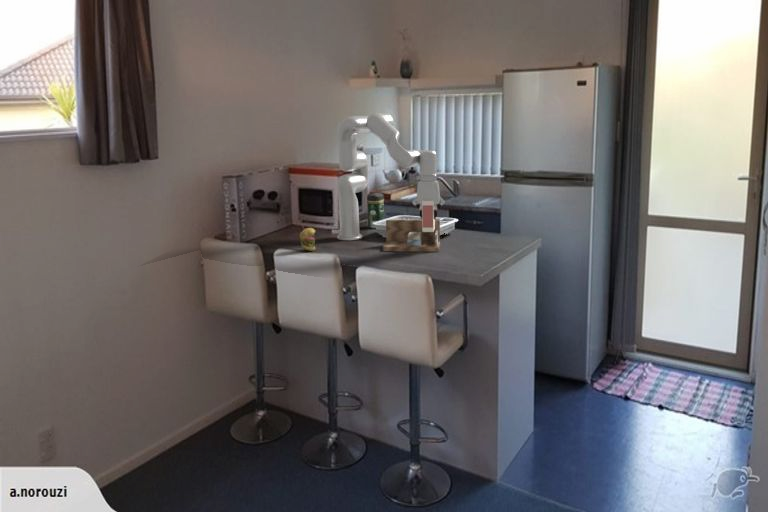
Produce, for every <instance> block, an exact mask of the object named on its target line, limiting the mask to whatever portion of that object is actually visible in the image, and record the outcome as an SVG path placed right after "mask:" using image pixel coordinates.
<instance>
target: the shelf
mask: <svg viewBox="0 0 768 512" xmlns="http://www.w3.org/2000/svg"><path fill="white" fill-rule="evenodd" d="M385 238H386V240H385V243H384V244H383V246H382V251H383V252H421V253H422V252H425V253H426V252H427V253H430V252H431V253H432V252H433V253H434V252H439V249H440V246H441V235H440V220H435V229H434V232H422V220H386V237H385Z"/></svg>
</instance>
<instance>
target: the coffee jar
mask: <svg viewBox="0 0 768 512" xmlns="http://www.w3.org/2000/svg"><path fill="white" fill-rule="evenodd" d="M366 197H367V199H366V202H367V227H368V228H369V229H371V230H372V229H373V230H376V225H373V224H372V223H373V222H376V221H380V220H383V219H385V211H384V210H385V208H384V207H385V206H384V205H385V204H384V201H385V197H384V194H383V193H382V192H373V193H371V194H368V195H367V196H366Z"/></svg>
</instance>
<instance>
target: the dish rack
mask: <svg viewBox="0 0 768 512" xmlns="http://www.w3.org/2000/svg"><path fill="white" fill-rule="evenodd" d="M386 220H422V219H421V217H420V215H394V216H391V217H388V218H384V219H383V220H380V221H376V222H373V223H372V224H373V225H376V228H375V232H376V233H377V234H378V235H381V236H382V238H386ZM435 220H440V236H441V235H445V236H447V235H449V233H450V232H452V231H453V230H455V224H456V223H457V222H458V221H459V219H458V218H453V217H438V216H437V217H436V219H435ZM444 233H445V234H444ZM446 234H447V235H446Z"/></svg>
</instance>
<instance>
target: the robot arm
mask: <svg viewBox="0 0 768 512" xmlns="http://www.w3.org/2000/svg"><path fill="white" fill-rule="evenodd" d="M394 123H395V122H394V119H393V117H392V115H391V114H389V113H388V112H387V113H386V112H377V113H372V114H370V115H369V114H368V115H352V116H347V117H345V118H343V119H342V120H341V121H340V122H339V124H338V125H337V126H338V127H337V137H338V166H339V169H340V170H341V171H343V172H348V173H347V174H342V175H341V176H339V178H337V180H336V184H335V186H336V192H337V195H338V196H337V197H338V209H339V211H338V213H339V229H331V234H332V235H337V236H336V238H337V240H340V241H356V240H357V241H359V240H362V239H363V238H364V237H363V234H361V233H360V217H359V215H360V213H359V212H360V211H359V201H358V197H357V195H356V193H361V192H364V191H365V190H366V189H367V188H368V183H369V161H368V157H367V155H366V154H365V152H363V151H361V150H357V140H356V137H355V135H365V134H373V135H375V136H376V138H378V139H379V140H380V141H381V142H382V143H383V144H384V145H385V147H386V150H387V152H388V154H389V156H390V157H391V158H392V159H393V161H395V163H397V164H398V165H399V166H401V167H402V168H404V169H406V168H407V169H408V168H414V167H419V175H417V176H416V180H419V181H417V186H416V187H417V188H416V197H415V198H414V200H413V201H412V202H411V203H412V205H413V206H415V207H416V209H418V210H419V216H420V217H421V219H422V200H434V208H435V209H434V219H436V217H437V218H438V210H439V209H440V208H441V207H442V206H443V205H445V203H446V201H445V200H444V199H443V198H442V196H441V195H440V191H441V190H440V185H439V181H438V180H437V177H438V176H437V175H438V174H437V152H436V151H435V150H431V149H430V150H424V149H423V150H421V149H417V148H416V149H409V150H407V149H405V148H404V147H403V145H401V144H400V143H399V141H398V140H399V139H400V131H399V130H398V129H397V128H395V127H394ZM349 172H351V173H349Z"/></svg>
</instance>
